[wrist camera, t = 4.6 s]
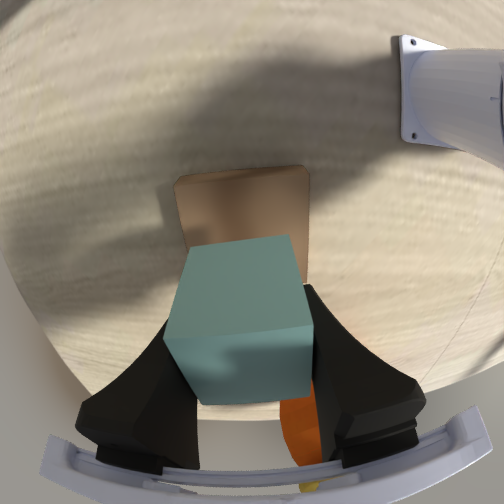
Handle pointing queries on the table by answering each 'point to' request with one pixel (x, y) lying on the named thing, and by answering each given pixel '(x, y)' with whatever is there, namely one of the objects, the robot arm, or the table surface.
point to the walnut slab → (246, 207)
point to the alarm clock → (302, 433)
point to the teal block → (242, 323)
